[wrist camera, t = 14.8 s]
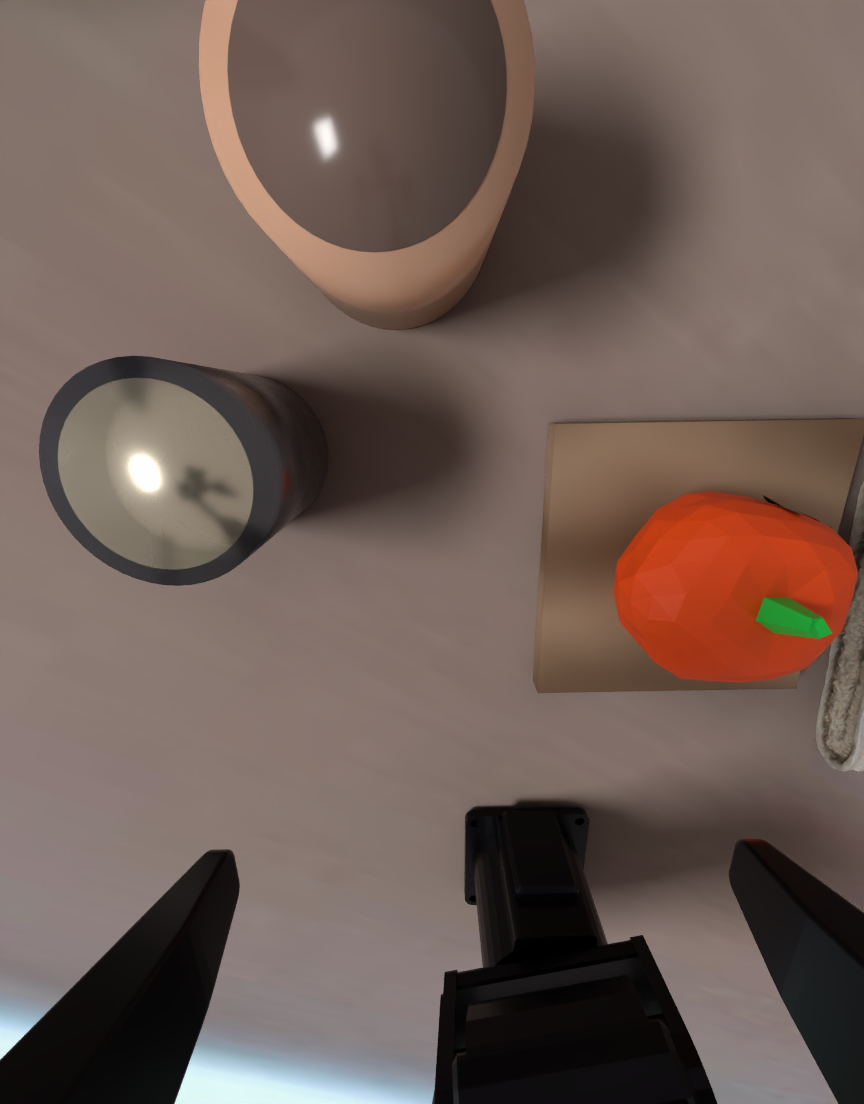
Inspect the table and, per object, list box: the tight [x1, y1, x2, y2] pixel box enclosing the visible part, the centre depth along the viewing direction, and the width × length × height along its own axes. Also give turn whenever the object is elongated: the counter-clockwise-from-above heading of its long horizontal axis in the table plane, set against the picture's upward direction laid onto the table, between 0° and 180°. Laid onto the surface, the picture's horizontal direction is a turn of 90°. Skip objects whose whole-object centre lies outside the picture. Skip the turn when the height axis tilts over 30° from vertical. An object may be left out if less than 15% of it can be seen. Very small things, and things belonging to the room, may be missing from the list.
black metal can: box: [39, 356, 328, 586], centre depth 15 cm, size 6×6×7 cm
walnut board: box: [533, 418, 864, 693], centre depth 20 cm, size 12×12×1 cm
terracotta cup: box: [199, 0, 535, 330], centre depth 13 cm, size 7×7×7 cm
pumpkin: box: [613, 491, 858, 682], centre depth 16 cm, size 7×8×6 cm
